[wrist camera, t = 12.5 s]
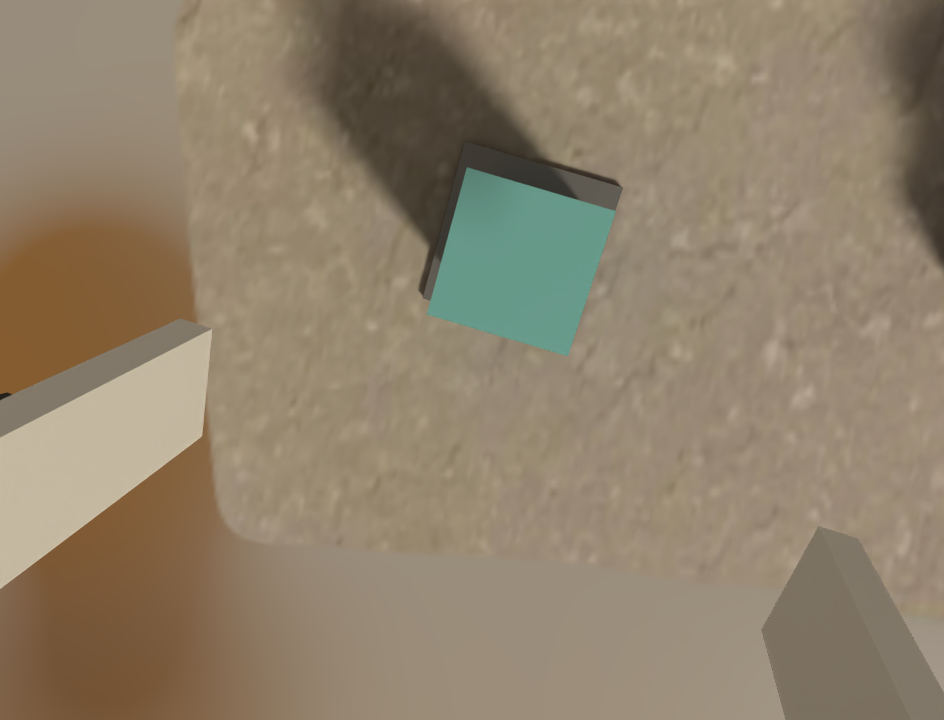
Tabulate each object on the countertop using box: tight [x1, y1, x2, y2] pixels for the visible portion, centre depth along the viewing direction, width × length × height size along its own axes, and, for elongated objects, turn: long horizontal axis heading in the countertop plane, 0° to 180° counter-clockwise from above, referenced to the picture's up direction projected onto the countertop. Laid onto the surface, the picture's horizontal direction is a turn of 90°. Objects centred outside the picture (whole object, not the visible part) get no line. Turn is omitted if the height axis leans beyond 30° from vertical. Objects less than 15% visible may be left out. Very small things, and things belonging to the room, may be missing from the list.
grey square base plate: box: [423, 141, 623, 300], centre depth 30 cm, size 8×8×7 cm
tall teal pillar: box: [427, 167, 616, 356], centre depth 28 cm, size 5×5×11 cm
